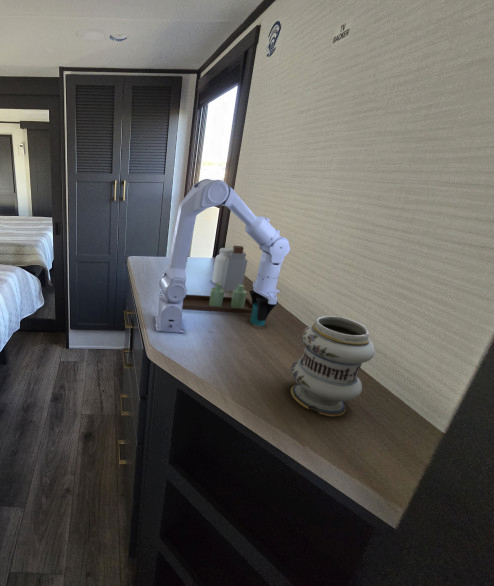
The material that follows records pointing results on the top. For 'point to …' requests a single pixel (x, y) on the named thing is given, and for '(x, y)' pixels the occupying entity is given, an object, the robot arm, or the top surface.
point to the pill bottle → (220, 265)
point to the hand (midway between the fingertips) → (258, 316)
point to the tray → (203, 305)
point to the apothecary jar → (331, 364)
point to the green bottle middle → (216, 296)
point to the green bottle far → (238, 297)
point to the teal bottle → (254, 318)
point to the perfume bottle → (234, 268)
